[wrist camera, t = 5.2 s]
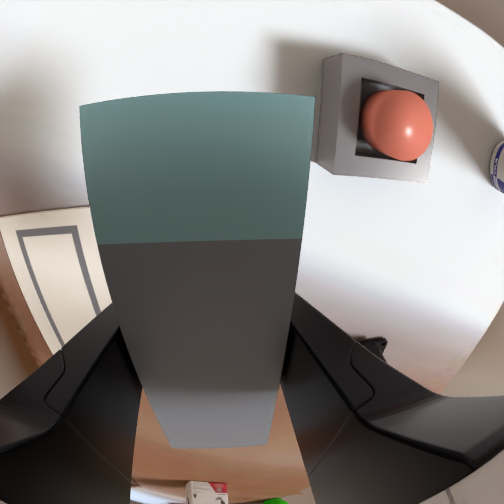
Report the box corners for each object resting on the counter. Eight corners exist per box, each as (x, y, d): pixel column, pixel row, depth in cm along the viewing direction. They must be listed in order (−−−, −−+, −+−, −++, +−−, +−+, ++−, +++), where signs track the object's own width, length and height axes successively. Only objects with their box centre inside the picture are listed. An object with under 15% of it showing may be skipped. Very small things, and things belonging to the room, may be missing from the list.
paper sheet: (140, 363, 25) (139, 366, 25) (56, 357, 24) (55, 359, 24) (98, 205, 18) (96, 207, 17) (-1, 216, 16) (-4, 218, 16)
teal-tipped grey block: (254, 374, 12) (267, 444, 9) (175, 377, 12) (171, 447, 9) (271, 97, 7) (315, 97, 4) (136, 101, 7) (79, 105, 3)
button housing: (402, 171, 19) (426, 183, 16) (316, 163, 18) (333, 174, 15) (412, 80, 15) (438, 82, 13) (323, 59, 15) (342, 53, 12)
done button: (409, 156, 16) (427, 165, 14) (356, 149, 15) (372, 156, 14) (415, 97, 14) (436, 99, 12) (361, 83, 13) (379, 83, 12)
